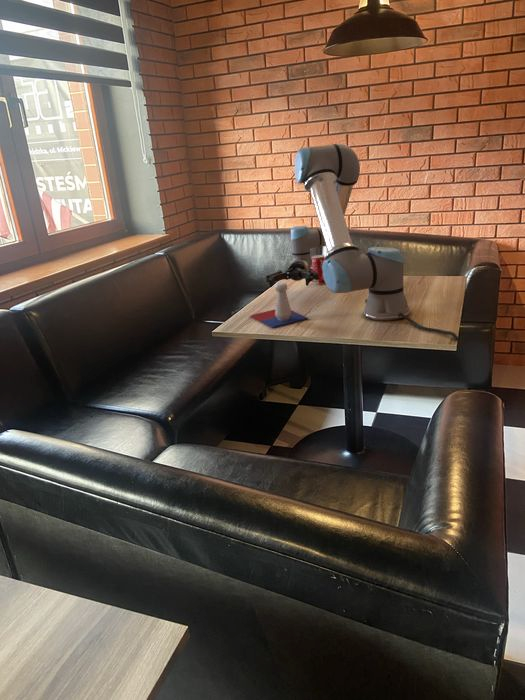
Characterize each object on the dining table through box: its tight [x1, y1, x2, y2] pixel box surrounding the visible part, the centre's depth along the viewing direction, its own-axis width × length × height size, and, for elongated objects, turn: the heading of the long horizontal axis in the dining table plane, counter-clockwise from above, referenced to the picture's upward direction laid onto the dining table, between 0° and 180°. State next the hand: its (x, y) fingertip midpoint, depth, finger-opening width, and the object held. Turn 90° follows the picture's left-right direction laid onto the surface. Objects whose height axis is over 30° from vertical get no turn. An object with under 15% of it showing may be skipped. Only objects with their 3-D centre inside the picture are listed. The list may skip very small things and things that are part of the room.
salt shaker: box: [274, 282, 292, 321], centre depth 189 cm, size 6×6×13 cm
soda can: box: [311, 254, 326, 285], centre depth 235 cm, size 7×7×12 cm
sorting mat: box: [250, 308, 308, 329], centre depth 195 cm, size 18×14×1 cm
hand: (288, 282), depth 196 cm, fingers open, 13 cm apart
